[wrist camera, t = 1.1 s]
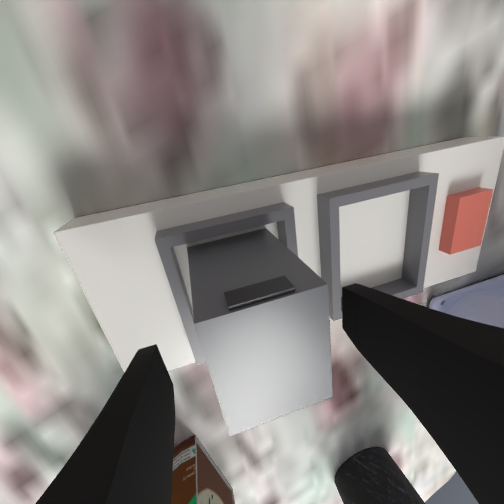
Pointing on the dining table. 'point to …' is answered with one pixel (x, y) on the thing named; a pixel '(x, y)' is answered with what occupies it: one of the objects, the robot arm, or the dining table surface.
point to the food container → (197, 476)
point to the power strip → (289, 237)
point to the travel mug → (374, 480)
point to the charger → (260, 327)
